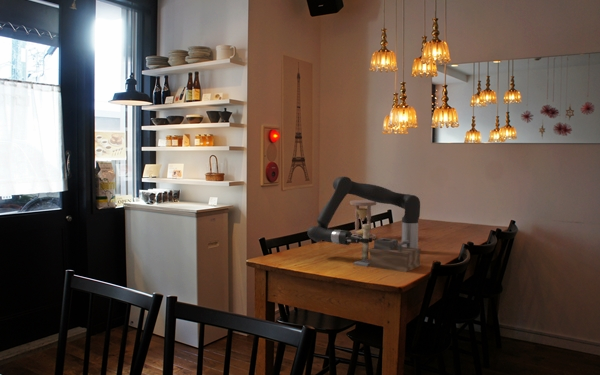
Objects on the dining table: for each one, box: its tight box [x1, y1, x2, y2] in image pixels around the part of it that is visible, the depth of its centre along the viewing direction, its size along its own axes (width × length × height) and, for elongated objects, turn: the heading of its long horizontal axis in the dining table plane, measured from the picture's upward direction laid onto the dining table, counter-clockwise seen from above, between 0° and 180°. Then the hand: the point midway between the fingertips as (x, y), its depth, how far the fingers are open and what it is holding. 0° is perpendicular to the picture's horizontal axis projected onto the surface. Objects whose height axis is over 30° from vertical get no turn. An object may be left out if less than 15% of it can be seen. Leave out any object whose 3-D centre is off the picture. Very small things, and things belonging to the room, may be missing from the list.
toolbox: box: [368, 237, 422, 273], centre depth 262 cm, size 17×21×13 cm
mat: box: [353, 259, 370, 267], centre depth 268 cm, size 10×8×1 cm
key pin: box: [361, 223, 372, 260], centre depth 267 cm, size 4×4×18 cm
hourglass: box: [349, 199, 377, 241], centre depth 347 cm, size 18×18×25 cm
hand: (370, 240), depth 266 cm, fingers closed on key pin, 3 cm apart
